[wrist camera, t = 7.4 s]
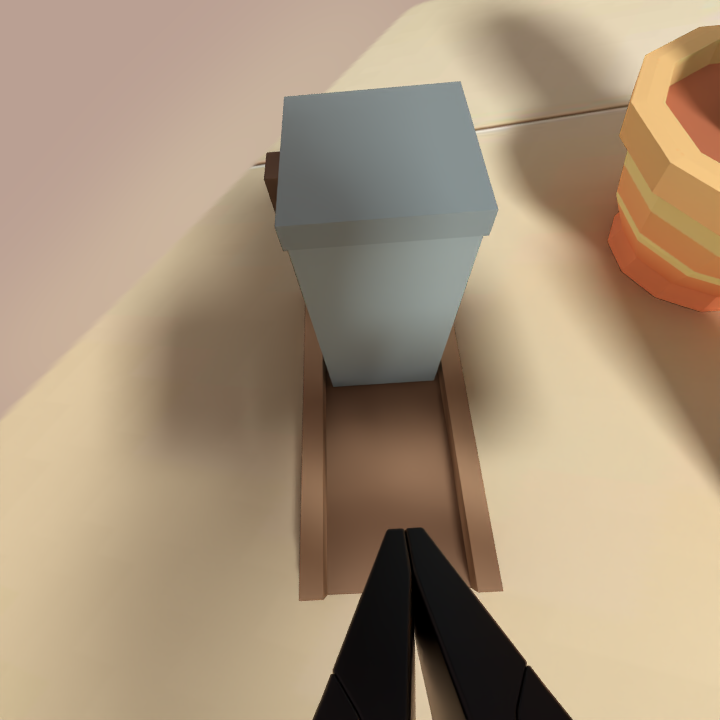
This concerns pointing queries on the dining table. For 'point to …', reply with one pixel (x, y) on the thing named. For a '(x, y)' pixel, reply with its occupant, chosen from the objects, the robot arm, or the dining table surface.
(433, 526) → the track
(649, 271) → the potted cactus
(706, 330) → the dining table surface
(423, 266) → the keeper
